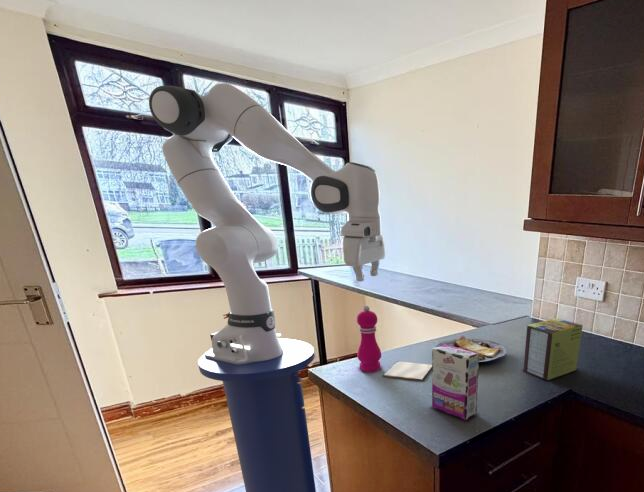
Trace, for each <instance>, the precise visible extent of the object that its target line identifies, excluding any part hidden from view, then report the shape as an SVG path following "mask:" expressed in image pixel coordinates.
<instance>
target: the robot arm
mask: <svg viewBox="0 0 644 492" xmlns="http://www.w3.org/2000/svg"><path fill="white" fill-rule="evenodd" d="M148 106H149V111H150V113H151V116H152V118H153V119H154V120H155V122H156V123H157V125H159V126H160V127H161V128H163V129H164V130H166V131H167V132H169V133H171V134H172V135H171V136H169V137H167V139H165V140H164V141H163V143H162V146H161V150H162V154H163V156H164V159H165V161H166V164H167V166H168V168H169V170H170V172H171V174H172V176H173V178H174V180H175V182H176V183H177V185H178V186H179V188H180V190H181V191H182V193H183V194H184V197H186V199H187V201H188V202H189V204H190V206H191V207H192V209H193V210H194V212H195V213H196V214H197V215H198V216H200V217H201V218H203V219H205V220H207V221H209V222H210V223H211V224H212V225H214V227H210V228H208V229H205V230H203V231H201V232H199V234H198V235H197V236H196V239H195V249H196V252H197V254H198V256H199V258H200V259H201V260H202V262H204V263H205V264H206V265H208V266H210V267H211V268H212V269H213V270H214V272H216V274H217V275H218V276H219V278H220V279H221V282H222V283H223V285H224V288H225V292H226V296H227V300H228V305H229V310H230V311H229V312H228V313H226V314H223V315H222V316H223V319H227V324H226V325H224V327H222V328H221V329H219V330H218V331H217V332H213V333H210V334H209V336H210V340H211V348H210V349H209V350H207V351H205V353H204V354H205V357H206V358H210V359H215V360H219V361H224V362H228V363H233V364H237V365H241V364H246V363H251V362H259V361H266V360H270V359H273V358H276V357H279V356H280V355H282V354H283V353H284V350H283V349H282V347H281V344H280V342H279V339H280V338H279V337H281V336H282V334H281V333H277V330H276V316H275V311H274V309H273V308H272V303H271V295H270V288H269V285H268V284H267V282H265V280H263V279H261V278H260V277H259V275H258V274H257V272H256V270H255V267H254V264H259V263H264V262H266V261H268V260H270V259H271V258H273V257H275V256H276V254H277V253H278V250H279V240H278V238H277V235H276V234H275V233H274V232H273V231H272V230H271V229H269V228H268V227H267V226H266V225H265V226H264V225H263V224H262V223H260V222H259V221H258V220H257V219H256V218H255V217H254V216H253V215H252V214H251V213H250V212H249V211H248V210H247V209H246V207H245V206H244V205H243V204H242V203H241V201H239V199H238V198H237V197H236V195H235V194H234V192H233V190H232V189H231V187H230V186H229V183H228V182H227V180H226V179H225V178H224V176H223V174H222V172H221V171H220V169H219V167H218V165H217V163H216V162H215V161H214V159H213V156H212V152H213V153H218V152H221V150H222V149H223V148H224V147H225V146H226V145H228V144H229V143H231V142H232V140H233V139H235V140H236V141H237V142H238V143H239V144H240V145H241V146H243V147H244V148H245V149H246V150H248V151H249V152H251V153H253V154H254V155H256V156H258V157H259V158H261V159H264V160H266V161H270V162H273V163H277V164H280V165H284V166H286V167H289V168H292V169H293V170H296V171H298V172H299V173H301V174H303V176H305V177H306V178H307V179H309V180H310V181H311V183H310V187H309V197H310V200H311V202H312V205H314V207H315V208H316V209H317V210H318V211H320V212H322V213H325V214H329V215H330V214H331V215H333V214H335V215H342V214H343V215H347V221H346V222H345V223H344V224H343V225H342V226H341V227H340V228H339V233H340V236H341V237H342V239H341V247H342V257H343V262H344V264H345V266H347V267H352V269H353V272H354V274H355V279H356V282H364V281H365V274H364V273H363V269H364V268H363V266H364V265H367V264H371V267H370V271H369V272H370V273H369V274H370V276H371V277H377V276H379V267H380V260H384V259H385V257H386V245H385V238H384V235H383V233H382V217H381V212H380V202H381V193H380V192H381V191H380V183H379V177H378V174H377V171H376V170H375V168H373V167H372V166H369V165H366V164H362V163H358V162H353V161H350V162H347V163H346V164H345V165H344V166H343V167H341V168H339V169H337V170H336V171H335V169H333V168H332V167H330V166H329V165H328V164H327V163H325V162H324V161H323V160H321V158H319V157H318V156H316V155H315V154H314V153H313V152H312V151H310V150H309V149H308V148H307V147H305V145H303V144H302V143H301V142H300V141H299V140H298V139H297V138H296V137H295V136H294V135H293V134H292V133H291V132H290V131H289V130H288V129H287V128H285V126H284V125H282V123H281V122H280V121H279V120H277V118H275V117H274V116H273V115H272V114H271V112H269V111H268V110H267V109H266V108H265V107H263V105H261V104H260V103H259V102H258V101H256V100H255V99H254V98H252V97H251V96H250V95H248V94H246V93H245V92H244V91H242V90H241V89H239V88H237V87H236V86H234V85H232V84H230V83H227V82H226V83H225V82H222V83H217V84H215V85H213V87H211V89H210V90H209V91H208V93H207V94H205V95H201V94H198V93H197V91H195V89H190V88H185V87H180V86H175V85H159V86H157V87H155V88H153V90H152V91H151V92H150V94H149V98H148ZM278 338H279V339H278Z"/></svg>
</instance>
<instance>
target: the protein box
mask: <svg viewBox="0 0 644 492" xmlns="http://www.w3.org/2000/svg"><path fill="white" fill-rule="evenodd" d="M525 334H526V335H525V346H524V356H523V368H522V370H523V371H524V372H525V373H528V374H531V375H533V376H535V377H538V378H540V379H542V380H544V381H550V380H554V379H556V378H558V377H561V376H564V375H566V374H569V373H572V372H575V371H577V369H578V368H577V367H578V360H579V354H580V346H581V340H582V334H583V324H581V323H576V322H573V321H570V320H565V319H562V318H558V317H556V318H555V317H554V318H552V319H547V320H541V321H538V322H534V323H530V324H527V325H526V333H525Z"/></svg>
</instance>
